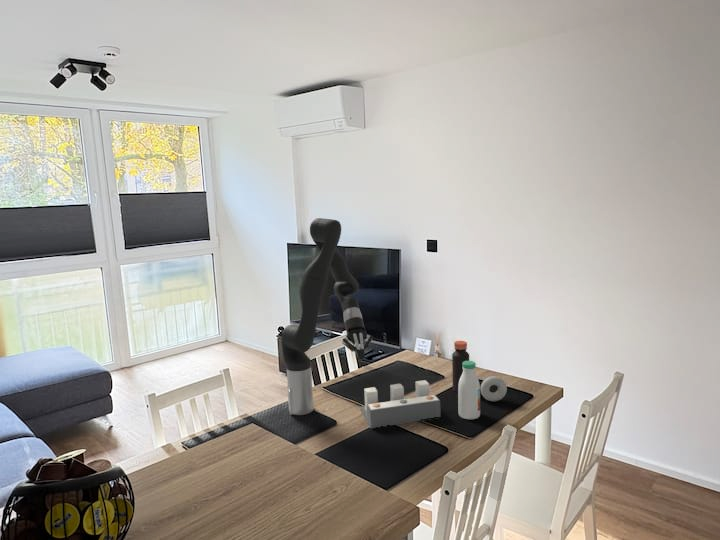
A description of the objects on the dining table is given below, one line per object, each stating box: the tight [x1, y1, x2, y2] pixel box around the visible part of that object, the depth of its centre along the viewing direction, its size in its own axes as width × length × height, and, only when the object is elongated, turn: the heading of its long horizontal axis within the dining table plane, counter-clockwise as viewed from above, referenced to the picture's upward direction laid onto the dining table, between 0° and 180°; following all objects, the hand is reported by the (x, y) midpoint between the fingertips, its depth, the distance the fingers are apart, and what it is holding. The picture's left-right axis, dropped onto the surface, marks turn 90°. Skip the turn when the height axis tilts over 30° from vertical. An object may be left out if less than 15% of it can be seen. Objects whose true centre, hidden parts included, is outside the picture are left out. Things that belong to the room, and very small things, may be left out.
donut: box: [480, 375, 508, 402], centre depth 189 cm, size 10×4×10 cm, turn 90°
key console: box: [360, 394, 442, 429], centre depth 182 cm, size 26×15×7 cm, turn 103°
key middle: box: [389, 383, 405, 401], centre depth 184 cm, size 4×4×8 cm
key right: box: [414, 379, 431, 398], centre depth 186 cm, size 4×4×8 cm
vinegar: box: [451, 340, 470, 393], centre depth 200 cm, size 7×7×20 cm
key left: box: [363, 386, 379, 411], centre depth 182 cm, size 4×4×8 cm
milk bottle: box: [457, 360, 481, 420], centre depth 178 cm, size 8×8×20 cm
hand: (362, 359), depth 192 cm, fingers closed
